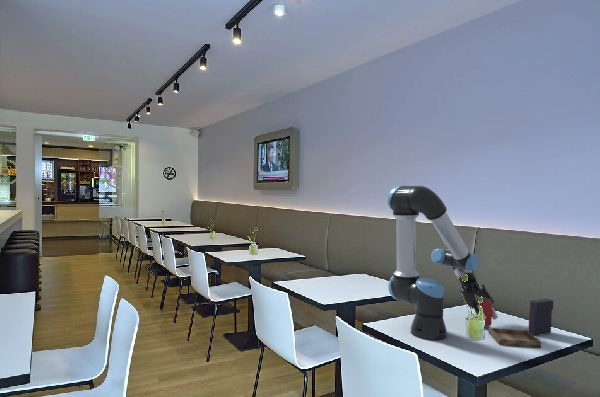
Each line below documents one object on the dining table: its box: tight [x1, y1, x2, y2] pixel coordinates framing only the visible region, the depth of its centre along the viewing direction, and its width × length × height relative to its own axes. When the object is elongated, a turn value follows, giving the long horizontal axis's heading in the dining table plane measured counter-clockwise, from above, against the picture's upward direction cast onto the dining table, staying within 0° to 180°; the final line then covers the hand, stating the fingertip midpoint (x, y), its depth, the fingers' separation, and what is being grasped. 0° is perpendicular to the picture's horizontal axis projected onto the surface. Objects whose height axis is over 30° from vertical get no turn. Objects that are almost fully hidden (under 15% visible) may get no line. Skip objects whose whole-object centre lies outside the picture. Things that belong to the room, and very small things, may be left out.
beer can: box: [475, 296, 493, 327], centre depth 192 cm, size 7×7×12 cm
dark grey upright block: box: [527, 298, 554, 337], centre depth 186 cm, size 11×4×15 cm, turn 115°
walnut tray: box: [488, 327, 542, 349], centre depth 176 cm, size 16×14×2 cm
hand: (490, 318), depth 189 cm, fingers closed on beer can, 6 cm apart
